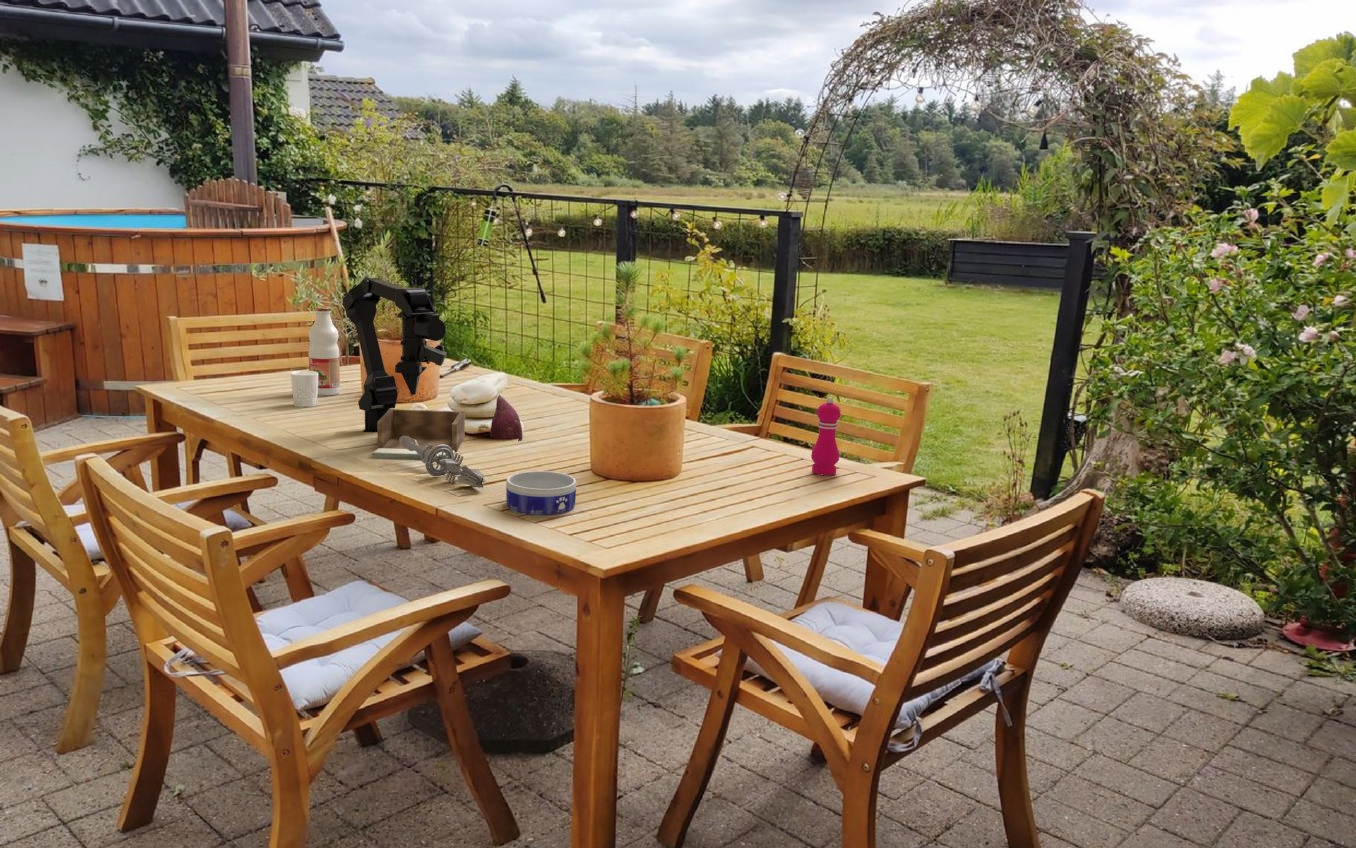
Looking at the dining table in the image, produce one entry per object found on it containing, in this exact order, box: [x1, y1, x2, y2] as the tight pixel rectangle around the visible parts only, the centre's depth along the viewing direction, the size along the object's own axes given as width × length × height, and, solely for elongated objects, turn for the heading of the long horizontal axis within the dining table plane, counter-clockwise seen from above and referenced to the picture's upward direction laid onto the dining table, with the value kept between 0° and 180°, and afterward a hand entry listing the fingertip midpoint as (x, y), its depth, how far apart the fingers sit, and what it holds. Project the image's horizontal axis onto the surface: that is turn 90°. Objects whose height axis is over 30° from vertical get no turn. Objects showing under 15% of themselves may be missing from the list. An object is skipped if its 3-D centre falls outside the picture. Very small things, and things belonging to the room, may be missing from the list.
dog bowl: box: [505, 470, 577, 516], centre depth 227 cm, size 15×15×6 cm
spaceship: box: [399, 436, 487, 489], centre depth 245 cm, size 8×35×8 cm
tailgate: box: [371, 447, 456, 460], centre depth 261 cm, size 19×1×8 cm
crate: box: [376, 408, 466, 453], centre depth 272 cm, size 20×16×8 cm
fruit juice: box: [308, 305, 341, 397], centre depth 331 cm, size 9×9×28 cm
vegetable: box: [489, 394, 523, 442], centre depth 285 cm, size 10×9×14 cm
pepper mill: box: [810, 396, 842, 476], centre depth 265 cm, size 7×7×20 cm
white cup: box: [290, 370, 319, 408], centre depth 314 cm, size 8×8×10 cm
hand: (413, 394), depth 274 cm, fingers closed
